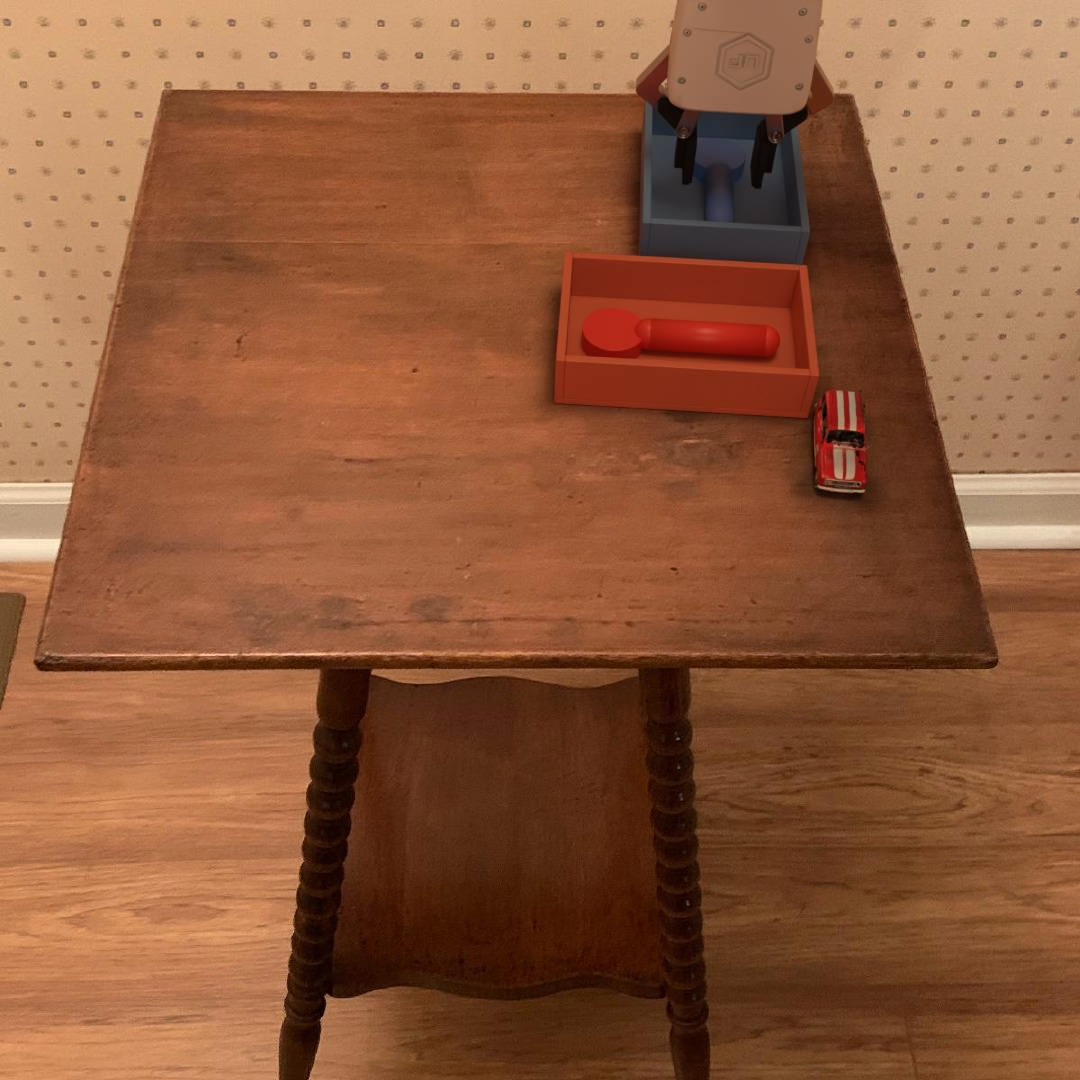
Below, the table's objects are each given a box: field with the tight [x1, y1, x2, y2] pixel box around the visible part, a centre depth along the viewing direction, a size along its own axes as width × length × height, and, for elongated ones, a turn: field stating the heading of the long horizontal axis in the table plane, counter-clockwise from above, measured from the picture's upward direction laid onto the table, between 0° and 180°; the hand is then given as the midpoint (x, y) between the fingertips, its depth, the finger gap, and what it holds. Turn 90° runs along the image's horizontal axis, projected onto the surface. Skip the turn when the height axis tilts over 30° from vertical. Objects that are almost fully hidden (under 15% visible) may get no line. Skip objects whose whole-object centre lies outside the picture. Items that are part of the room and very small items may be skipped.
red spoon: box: [581, 308, 780, 359], centre depth 83 cm, size 14×4×2 cm, turn 86°
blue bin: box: [638, 100, 811, 265], centre depth 94 cm, size 12×17×4 cm
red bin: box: [553, 251, 820, 419], centre depth 83 cm, size 17×11×4 cm, turn 86°
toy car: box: [812, 389, 872, 494], centre depth 77 cm, size 4×8×3 cm, turn 173°
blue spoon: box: [693, 139, 746, 223], centre depth 93 cm, size 14×4×2 cm, turn 176°
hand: (721, 174), depth 93 cm, fingers open, 4 cm apart
